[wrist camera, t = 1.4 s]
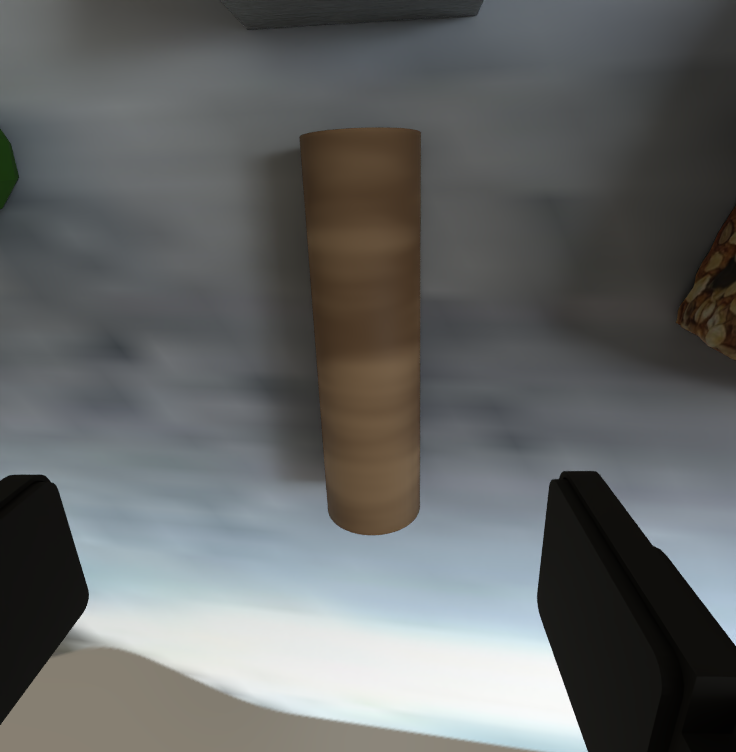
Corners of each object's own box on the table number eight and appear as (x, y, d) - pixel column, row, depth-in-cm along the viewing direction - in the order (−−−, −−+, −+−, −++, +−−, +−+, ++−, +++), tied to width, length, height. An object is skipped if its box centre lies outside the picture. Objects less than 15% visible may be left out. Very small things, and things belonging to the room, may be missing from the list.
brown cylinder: (311, 144, 20) (287, 131, 16) (419, 139, 20) (422, 124, 15) (334, 479, 26) (321, 534, 21) (418, 480, 25) (420, 536, 21)
